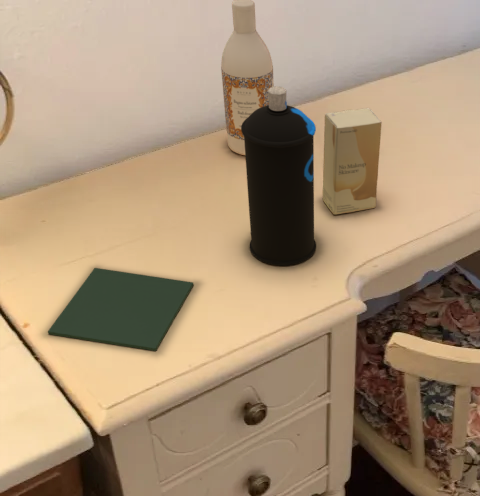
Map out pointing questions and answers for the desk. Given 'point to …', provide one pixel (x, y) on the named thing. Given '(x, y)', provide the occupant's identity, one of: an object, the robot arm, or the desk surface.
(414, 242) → the desk surface
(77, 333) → the mat
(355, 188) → the cosmetic box
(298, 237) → the aerosol can
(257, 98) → the bath foam
